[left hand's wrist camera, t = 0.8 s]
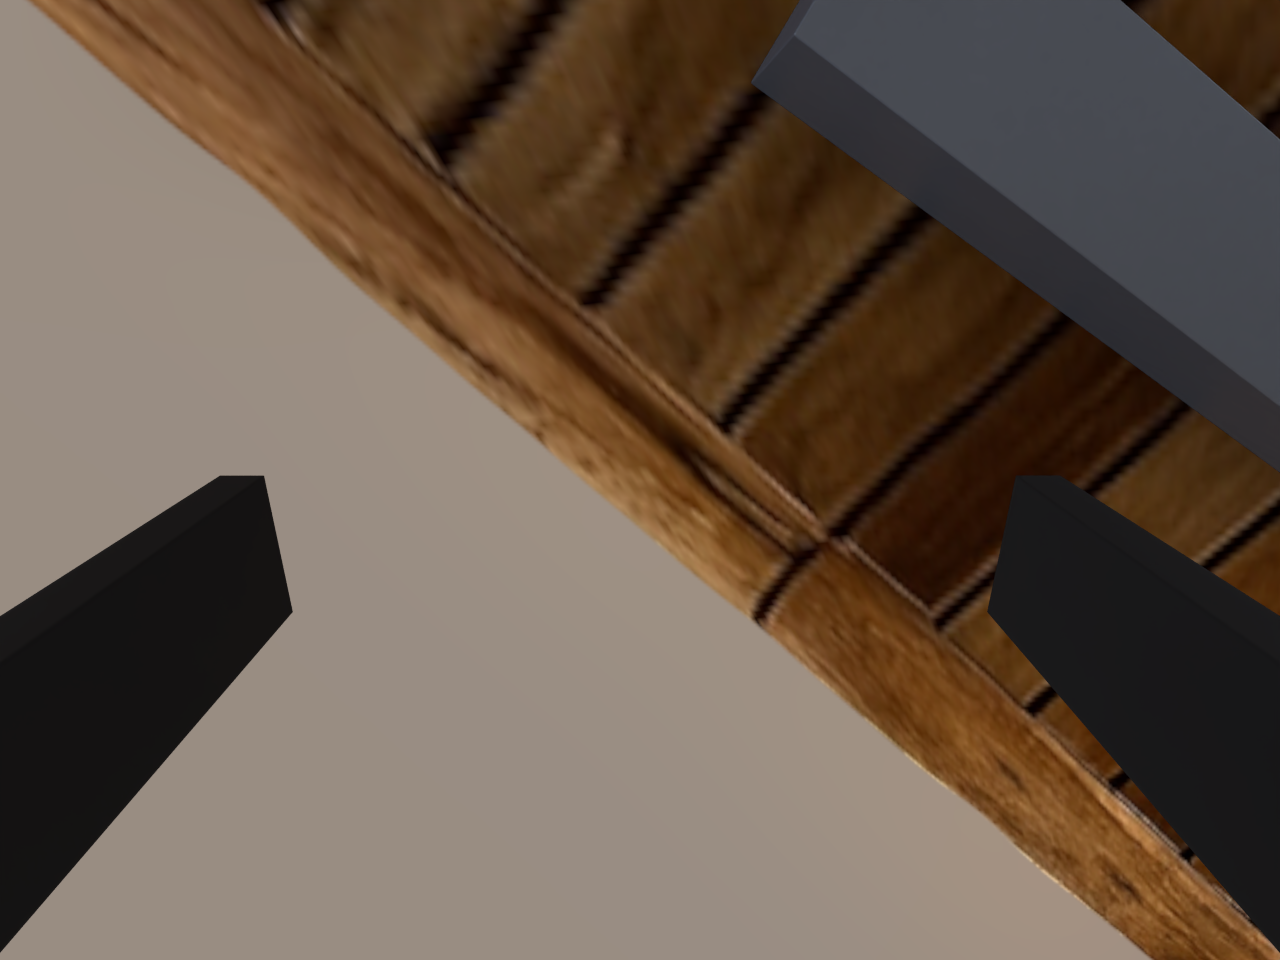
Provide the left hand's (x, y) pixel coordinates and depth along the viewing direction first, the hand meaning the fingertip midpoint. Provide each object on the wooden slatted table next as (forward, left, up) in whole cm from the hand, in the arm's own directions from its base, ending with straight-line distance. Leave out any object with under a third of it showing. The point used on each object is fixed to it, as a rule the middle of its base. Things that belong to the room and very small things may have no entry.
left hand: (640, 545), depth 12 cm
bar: (-17, +26, -22) cm, 38 cm away
